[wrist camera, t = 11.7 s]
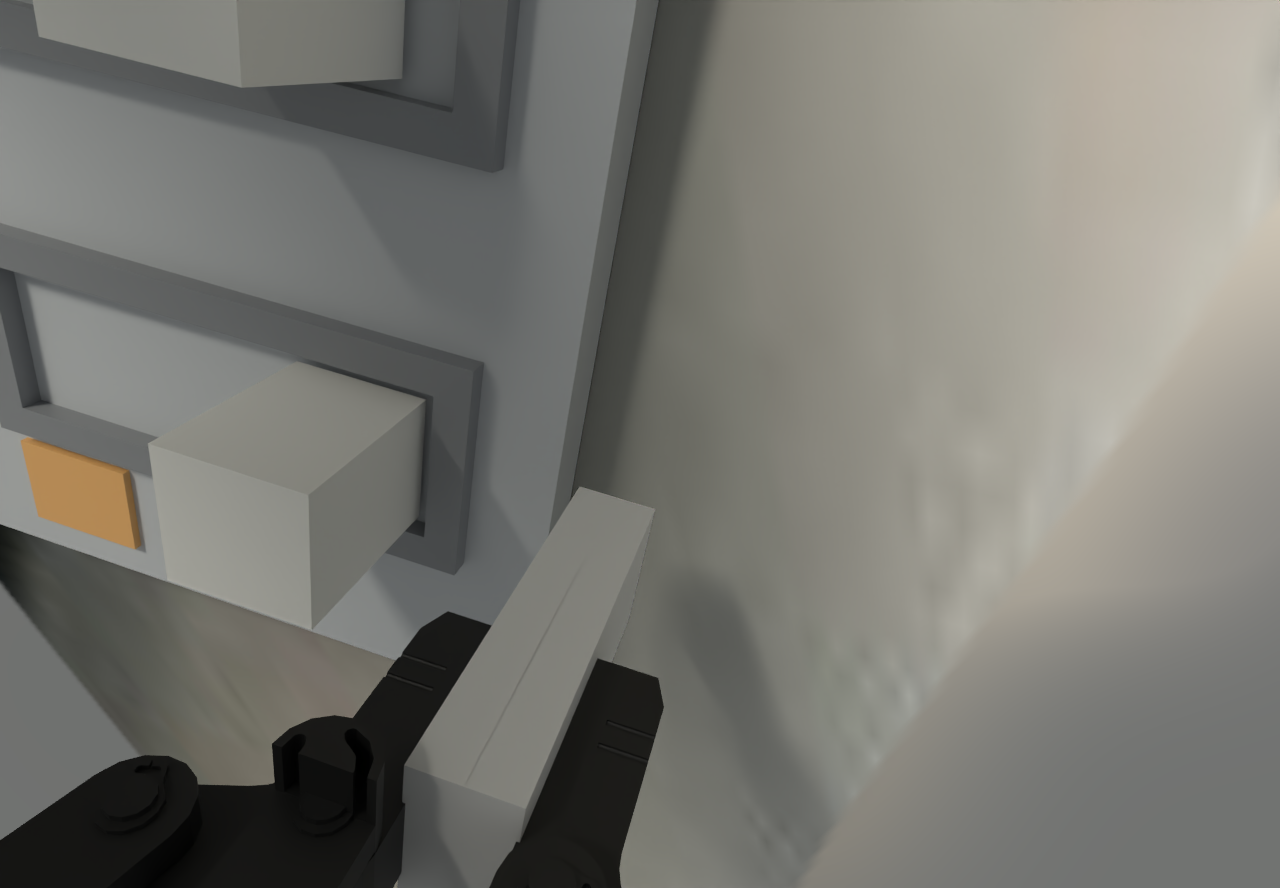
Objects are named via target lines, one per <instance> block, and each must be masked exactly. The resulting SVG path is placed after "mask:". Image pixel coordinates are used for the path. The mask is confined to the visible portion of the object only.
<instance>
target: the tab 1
mask: <svg viewBox="0 0 1280 888" xmlns="http://www.w3.org/2000/svg"><path fill="white" fill-rule="evenodd" d="M33 6H34V12H35V18H36V23H37V29H38V35H39V37H42V38H46V39H50V40H54V41H58V42H62V43H66V44H70V45H74V46H78V47H82V48H86V49H90V50H94V51H98V52H102V53H106V54H110V55H114V56H118V57H122V58H126V59H130V60H133V61H137V62H141V63H145V64H149V65H153V66H157V67H161V68H165V69H169V70H173V71H177V72H181V73H185V74H189V75H193V76H197V77H201V78H205V79H209V80H213V81H217V82H221V83H225V84H229V85H233V86H237V87H241V88H246V87H264V86H282V85H300V84H317V83H335V82H353V81H371V80H388V79H402V71H403V43H404V15H405V0H33Z"/></svg>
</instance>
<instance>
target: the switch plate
mask: <svg viewBox="0 0 1280 888" xmlns="http://www.w3.org/2000/svg"><path fill="white" fill-rule="evenodd" d="M658 2H659V0H405V15H404V43H403V71H402V79H388V80H371V81H353V82H335V83H317V84H300V85H282V86H264V87H246V88H241V87H237V86H233V85H229V84H225V83H221V82H217V81H213V80H209V79H205V78H201V77H197V76H193V75H189V74H185V73H181V72H177V71H173V70H169V69H165V68H161V67H157V66H153V65H149V64H145V63H141V62H137V61H133V60H130V59H126V58H122V57H118V56H114V55H110V54H106V53H102V52H98V51H94V50H90V49H86V48H82V47H78V46H74V45H70V44H66V43H62V42H58V41H54V40H50V39H46V38H42V37H39V35H38V29H37V23H36V18H35V12H34V6H33V0H0V524H2V525H5V526H7V527H10V528H13V529H16V530H19V531H22V532H25V533H28V534H31V535H34V536H36V537H39V538H42V539H45V540H48V541H51V542H54V543H57V544H60V545H63V546H65V547H68V548H71V549H74V550H77V551H80V552H83V553H86V554H89V555H92V556H94V557H97V558H100V559H103V560H106V561H109V562H112V563H115V564H118V565H120V566H123V567H126V568H129V569H132V570H135V571H138V572H141V573H144V574H147V575H149V576H152V577H155V578H158V579H161V580H164V581H167V582H170V583H173V582H171V581H168V580H167V574H166V567H165V560H164V553H163V546H162V539H161V532H160V525H159V518H158V511H157V504H156V497H155V490H154V483H153V476H152V469H151V462H150V455H149V448H148V443H150V442H151V441H153V440H155V439H157V438H159V437H161V436H162V435H164V434H166V433H168V432H170V431H171V430H173V429H175V428H177V427H179V426H180V425H182V424H184V423H186V422H188V421H189V420H191V419H193V418H195V417H197V416H199V415H200V414H202V413H204V412H206V411H208V410H209V409H211V408H213V407H215V406H217V405H218V404H220V403H222V402H224V401H226V400H227V399H229V398H231V397H233V396H235V395H237V394H238V393H240V392H242V391H244V390H246V389H247V388H249V387H251V386H253V385H255V384H256V383H258V382H260V381H262V380H264V379H265V378H267V377H269V376H271V375H273V374H275V373H276V372H278V371H280V370H282V369H284V368H285V367H287V366H289V365H291V364H293V363H294V362H296V361H299V362H302V363H305V364H309V365H312V366H315V367H319V368H322V369H325V370H329V371H332V372H335V373H339V374H342V375H345V376H349V377H352V378H356V379H359V380H362V381H366V382H369V383H372V384H376V385H379V386H382V387H386V388H389V389H392V390H396V391H399V392H402V393H406V394H409V395H413V396H416V397H419V398H423V399H426V413H425V429H424V445H423V462H422V478H421V494H420V511H419V517H418V518H417V519H416V520H415V521H414V522H413V523H412V524H411V525H410V526H409V527H408V528H407V529H406V530H405V532H404V533H403V534H402V535H401V536H400V537H399V538H398V539H397V540H396V541H395V542H394V543H393V544H392V545H391V546H390V548H389V549H388V550H387V551H386V552H385V553H384V554H383V555H382V556H381V557H380V558H379V559H378V560H377V561H376V562H375V563H374V565H373V566H372V567H371V568H370V569H369V570H368V571H367V572H366V573H365V574H364V575H363V576H362V577H361V578H360V579H359V580H358V582H357V583H356V584H355V585H354V586H353V587H352V588H351V589H350V590H349V591H348V592H347V593H346V594H345V595H344V596H343V598H342V599H341V600H340V601H339V602H338V603H337V604H336V605H335V606H334V607H333V608H332V609H331V610H330V611H329V612H328V613H327V615H326V616H325V617H324V618H323V619H322V620H321V621H320V622H319V623H318V624H317V625H316V626H315V627H314V628H313V629H312V630H310V629H307V628H304V627H301V626H298V625H295V624H292V623H289V622H287V621H284V620H281V619H278V618H275V617H272V616H269V615H266V614H263V613H260V612H258V611H255V610H252V609H249V608H246V607H243V606H240V605H237V604H234V603H231V602H229V601H226V600H223V599H220V598H217V597H214V596H211V595H208V594H205V593H202V592H200V591H197V590H194V589H191V588H188V587H185V586H182V585H179V584H176V583H173V584H176V585H178V586H181V587H184V588H187V589H190V590H193V591H196V592H199V593H202V594H204V595H207V596H210V597H213V598H216V599H219V600H222V601H225V602H228V603H231V604H233V605H236V606H239V607H242V608H245V609H248V610H251V611H254V612H257V613H260V614H262V615H265V616H268V617H271V618H274V619H277V620H280V621H283V622H286V623H288V624H291V625H294V626H297V627H300V628H303V629H306V630H309V631H312V632H315V633H317V634H320V635H323V636H326V637H329V638H332V639H335V640H338V641H341V642H344V643H346V644H349V645H352V646H355V647H358V648H361V649H364V650H367V651H370V652H373V653H375V654H378V655H381V656H384V657H387V658H390V659H393V660H397V659H398V657H401V655H402V652H403V651H404V649H405V648H406V647H407V645H408V644H409V643H410V641H411V640H412V639H413V637H414V636H415V635H416V633H417V632H418V631H419V629H420V628H421V627H423V626H425V625H426V624H428V623H429V622H431V621H433V620H434V619H436V618H438V617H439V616H441V615H442V614H444V613H446V612H447V611H449V612H452V613H455V614H458V615H461V616H464V617H467V618H470V619H474V620H477V621H480V622H483V623H486V624H489V625H493V623H494V622H495V620H496V618H497V617H498V615H499V614H500V612H501V610H502V609H503V607H504V606H505V604H506V603H507V601H508V599H509V598H510V596H511V595H512V593H513V591H514V590H515V588H516V587H517V585H518V583H519V582H520V580H521V579H522V577H523V576H524V574H525V572H526V571H527V569H528V568H529V566H530V564H531V563H532V561H533V560H534V558H535V556H536V555H537V553H538V552H539V550H540V549H541V547H542V545H543V544H544V542H545V541H546V539H547V537H548V536H549V534H550V533H551V531H552V529H553V528H554V526H555V525H556V523H557V522H558V520H559V518H560V517H561V515H562V514H563V512H564V510H565V509H566V507H567V506H568V504H569V502H570V498H571V493H572V487H573V481H574V476H575V470H576V465H577V459H578V453H579V448H580V442H581V436H582V431H583V425H584V419H585V414H586V408H587V403H588V397H589V391H590V386H591V380H592V374H593V369H594V363H595V357H596V352H597V346H598V340H599V335H600V329H601V324H602V318H603V312H604V307H605V301H606V295H607V290H608V284H609V278H610V273H611V267H612V262H613V256H614V250H615V245H616V239H617V233H618V228H619V222H620V216H621V211H622V205H623V200H624V194H625V188H626V183H627V177H628V171H629V166H630V160H631V154H632V149H633V143H634V137H635V132H636V126H637V121H638V115H639V109H640V104H641V98H642V92H643V87H644V81H645V75H646V70H647V64H648V59H649V53H650V47H651V42H652V36H653V30H654V25H655V19H656V13H657V8H658Z"/></svg>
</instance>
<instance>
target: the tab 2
mask: <svg viewBox="0 0 1280 888" xmlns="http://www.w3.org/2000/svg"><path fill="white" fill-rule="evenodd" d="M425 413H426V399H423V398H419V397H416V396H413V395H409V394H406V393H402V392H399V391H396V390H392V389H389V388H386V387H382V386H379V385H376V384H372V383H369V382H366V381H362V380H359V379H356V378H352V377H349V376H345V375H342V374H339V373H335V372H332V371H329V370H325V369H322V368H319V367H315V366H312V365H309V364H305V363H302V362H299V361H296V362H294V363H293V364H291V365H289V366H287V367H285V368H284V369H282V370H280V371H278V372H276V373H275V374H273V375H271V376H269V377H267V378H265V379H264V380H262V381H260V382H258V383H256V384H255V385H253V386H251V387H249V388H247V389H246V390H244V391H242V392H240V393H238V394H237V395H235V396H233V397H231V398H229V399H227V400H226V401H224V402H222V403H220V404H218V405H217V406H215V407H213V408H211V409H209V410H208V411H206V412H204V413H202V414H200V415H199V416H197V417H195V418H193V419H191V420H189V421H188V422H186V423H184V424H182V425H180V426H179V427H177V428H175V429H173V430H171V431H170V432H168V433H166V434H164V435H162V436H161V437H159V438H157V439H155V440H153V441H151V442H150V443H148V448H149V455H150V462H151V469H152V476H153V483H154V490H155V497H156V504H157V511H158V518H159V525H160V532H161V539H162V546H163V553H164V560H165V567H166V574H167V580H168V581H171V582H173V583H176V584H179V585H182V586H185V587H188V588H191V589H194V590H197V591H200V592H202V593H205V594H208V595H211V596H214V597H217V598H220V599H223V600H226V601H229V602H231V603H234V604H237V605H240V606H243V607H246V608H249V609H252V610H255V611H258V612H260V613H263V614H266V615H269V616H272V617H275V618H278V619H281V620H284V621H287V622H289V623H292V624H295V625H298V626H301V627H304V628H307V629H310V630H312V629H313V628H314V627H315V626H316V625H317V624H318V623H319V622H320V621H321V620H322V619H323V618H324V617H325V616H326V615H327V613H328V612H329V611H330V610H331V609H332V608H333V607H334V606H335V605H336V604H337V603H338V602H339V601H340V600H341V599H342V598H343V596H344V595H345V594H346V593H347V592H348V591H349V590H350V589H351V588H352V587H353V586H354V585H355V584H356V583H357V582H358V580H359V579H360V578H361V577H362V576H363V575H364V574H365V573H366V572H367V571H368V570H369V569H370V568H371V567H372V566H373V565H374V563H375V562H376V561H377V560H378V559H379V558H380V557H381V556H382V555H383V554H384V553H385V552H386V551H387V550H388V549H389V548H390V546H391V545H392V544H393V543H394V542H395V541H396V540H397V539H398V538H399V537H400V536H401V535H402V534H403V533H404V532H405V530H406V529H407V528H408V527H409V526H410V525H411V524H412V523H413V522H414V521H415V520H416V519H417V518H418V517H419V511H420V494H421V478H422V462H423V445H424V429H425Z"/></svg>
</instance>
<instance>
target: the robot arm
mask: <svg viewBox="0 0 1280 888" xmlns="http://www.w3.org/2000/svg"><path fill="white" fill-rule="evenodd" d="M654 513H655V509H654V508H650V507H647V506H644V505H640V504H637V503H634V502H630V501H627V500H624V499H620V498H617V497H614V496H610V495H607V494H604V493H600V492H597V491H594V490H590V489H587V488H584V487H579V488H578V490H577V491H576V493H575V494H574V496H573V498H572V499H571V501H570V502H569V504H568V506H567V507H566V509H565V510H564V512H563V514H562V515H561V517H560V518H559V520H558V522H557V523H556V525H555V526H554V528H553V529H552V531H551V533H550V534H549V536H548V537H547V539H546V541H545V542H544V544H543V545H542V547H541V549H540V550H539V552H538V553H537V555H536V556H535V558H534V560H533V561H532V563H531V564H530V566H529V568H528V569H527V571H526V572H525V574H524V576H523V577H522V579H521V580H520V582H519V583H518V585H517V587H516V588H515V590H514V591H513V593H512V595H511V596H510V598H509V599H508V601H507V603H506V604H505V606H504V607H503V609H502V610H501V612H500V614H499V615H498V617H497V618H496V620H495V622H494V623H493V625H489V624H486V623H483V622H480V621H477V620H474V619H470V618H467V617H464V616H461V615H458V614H455V613H452V612H449V611H447V612H446V613H444V614H442V615H441V616H439V617H438V618H436V619H434V620H433V621H431V622H429V623H428V624H426V625H425V626H423V627H421V628H420V629H419V631H418V632H417V633H416V635H415V636H414V637H413V639H412V640H411V641H410V643H409V644H408V645H407V647H406V648H405V649H404V651H403V652H402V655H401V657H398V659H397V660H396V661H395V663H394V664H393V665H392V667H391V668H390V669H389V671H388V672H387V675H386V677H383V679H382V680H381V681H380V683H379V684H378V685H377V687H376V688H375V689H374V691H373V692H372V693H371V695H370V696H369V697H368V699H367V700H366V701H365V703H364V704H363V705H362V707H361V708H360V709H359V711H358V712H357V713H356V715H355V716H354V717H353V718H348V717H342V716H336V715H334V716H327V717H320V718H313V719H310V720H308V721H305V722H303V723H301V724H299V725H296V726H294V727H292V728H290V729H289V730H287V731H286V732H285V733H284V734H283V735H282V736H280V737H279V738H278V739H277V740H276V741H275V742H274V743H272V750H273V764H274V778H275V783H273V784H269V785H257V786H230V785H198V782H197V777H196V776H195V774H194V773H193V772H192V770H191V769H190V768H189V767H188V765H187V764H186V763H184V762H181V761H179V760H176V759H174V758H172V757H169V756H150V755H145V756H141V757H137V758H133V759H129V760H125V761H121V762H118V763H117V764H115V765H113V766H111V767H109V768H107V769H105V770H103V771H101V772H99V773H98V774H96V775H94V776H93V777H91V778H90V779H88V780H87V781H86V782H84V783H83V784H81V785H80V786H78V787H77V788H75V789H74V790H72V791H71V792H69V793H68V794H67V795H65V796H64V797H62V798H61V799H59V800H58V801H56V802H55V803H54V804H52V805H51V806H49V807H48V808H46V809H45V810H43V811H42V812H41V813H39V814H38V815H36V816H35V817H33V818H32V819H30V820H29V821H27V822H26V823H25V824H23V825H22V826H20V827H19V828H17V829H16V830H14V831H13V832H12V833H10V834H9V835H7V836H6V837H4V838H3V839H2V840H0V888H393V887H394V885H395V883H396V881H397V880H398V887H397V888H621V883H620V872H619V867H620V860H621V854H622V850H623V847H624V843H625V840H626V836H627V833H628V829H629V826H630V822H631V819H632V815H633V812H634V809H635V805H636V802H637V798H638V795H639V791H640V788H641V784H642V781H643V777H644V774H645V770H646V767H647V764H648V760H649V757H650V753H651V750H652V746H653V743H654V739H655V736H656V732H657V729H658V726H659V722H660V719H661V715H662V712H663V708H664V706H663V700H662V695H661V690H660V685H659V680H658V678H656V677H653V676H650V675H647V674H644V673H641V672H638V671H635V670H632V669H629V668H626V667H623V666H620V665H617V664H614V663H612V660H613V658H614V655H615V653H616V650H617V648H618V645H619V643H620V640H621V638H622V635H623V633H624V630H625V628H626V625H627V623H628V620H629V617H630V613H631V609H632V605H633V601H634V596H635V592H636V588H637V584H638V580H639V576H640V571H641V567H642V563H643V559H644V555H645V550H646V546H647V542H648V538H649V534H650V530H651V525H652V521H653V517H654Z"/></svg>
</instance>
